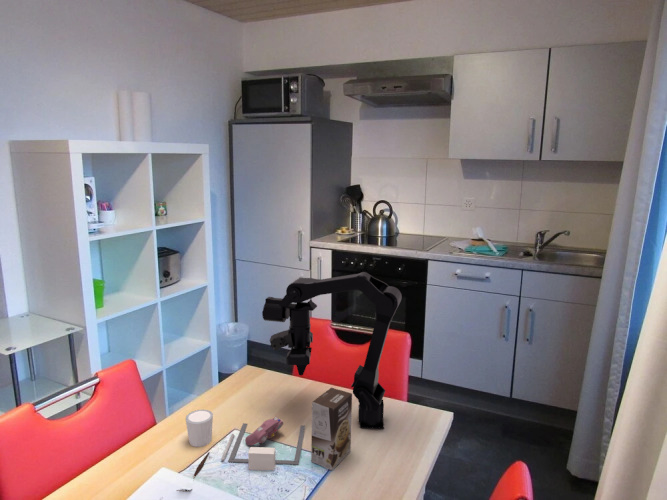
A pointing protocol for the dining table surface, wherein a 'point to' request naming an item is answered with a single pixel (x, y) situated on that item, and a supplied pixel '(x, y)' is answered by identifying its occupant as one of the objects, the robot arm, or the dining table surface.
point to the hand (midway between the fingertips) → (301, 374)
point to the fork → (198, 468)
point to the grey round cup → (199, 427)
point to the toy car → (264, 431)
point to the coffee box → (331, 428)
